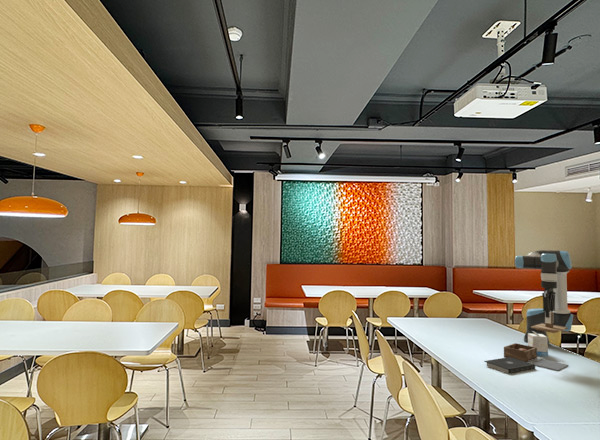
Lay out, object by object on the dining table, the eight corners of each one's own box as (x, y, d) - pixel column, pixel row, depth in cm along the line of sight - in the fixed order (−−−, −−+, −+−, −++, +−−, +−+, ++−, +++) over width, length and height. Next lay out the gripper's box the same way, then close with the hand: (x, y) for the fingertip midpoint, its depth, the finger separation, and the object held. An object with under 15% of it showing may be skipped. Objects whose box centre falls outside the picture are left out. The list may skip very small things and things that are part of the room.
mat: (542, 359, 222) (542, 358, 222) (568, 365, 212) (568, 364, 212) (531, 364, 212) (531, 363, 212) (558, 371, 202) (558, 370, 202)
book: (509, 375, 195) (509, 369, 195) (483, 366, 208) (483, 361, 208) (535, 370, 205) (535, 364, 205) (509, 362, 218) (509, 356, 218)
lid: (542, 326, 224) (542, 309, 224) (567, 330, 214) (567, 313, 214) (531, 329, 213) (530, 312, 214) (556, 334, 203) (556, 315, 204)
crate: (515, 352, 236) (515, 343, 236) (536, 357, 226) (536, 347, 227) (503, 357, 226) (503, 346, 226) (525, 362, 216) (525, 351, 217)
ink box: (548, 356, 230) (548, 334, 231) (533, 355, 232) (532, 333, 232) (542, 352, 238) (542, 331, 239) (527, 351, 240) (527, 330, 241)
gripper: (546, 279, 223) (547, 320, 222) (535, 280, 213) (536, 323, 212) (561, 281, 217) (562, 322, 216) (551, 282, 207) (551, 325, 206)
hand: (549, 322), depth 214 cm, fingers closed on lid, 3 cm apart
